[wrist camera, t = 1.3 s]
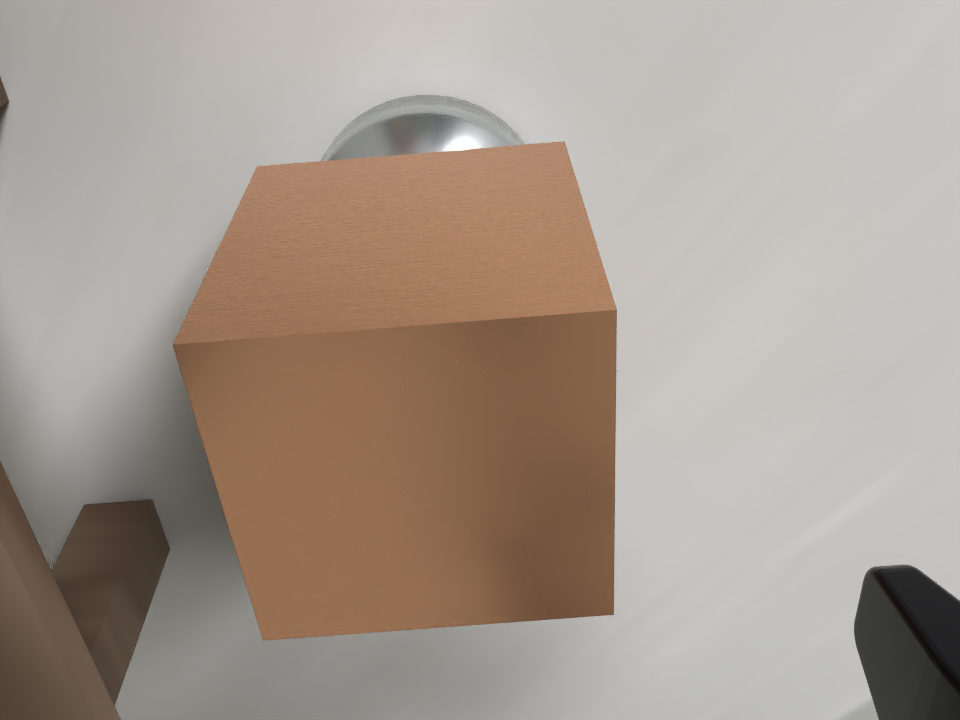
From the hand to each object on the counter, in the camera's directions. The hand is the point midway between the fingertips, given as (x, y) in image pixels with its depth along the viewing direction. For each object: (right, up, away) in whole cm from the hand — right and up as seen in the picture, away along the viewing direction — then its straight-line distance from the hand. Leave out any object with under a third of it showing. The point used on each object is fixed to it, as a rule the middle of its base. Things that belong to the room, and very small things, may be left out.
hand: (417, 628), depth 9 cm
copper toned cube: (0, +6, +8) cm, 10 cm away
